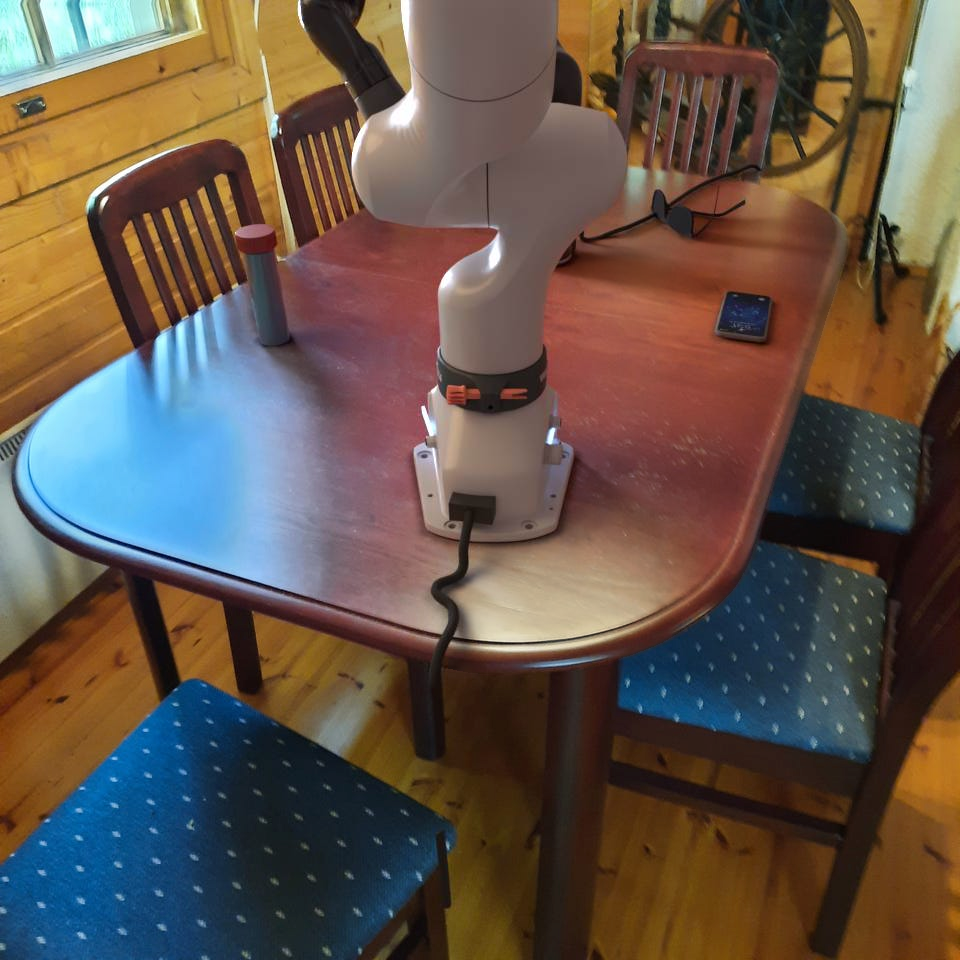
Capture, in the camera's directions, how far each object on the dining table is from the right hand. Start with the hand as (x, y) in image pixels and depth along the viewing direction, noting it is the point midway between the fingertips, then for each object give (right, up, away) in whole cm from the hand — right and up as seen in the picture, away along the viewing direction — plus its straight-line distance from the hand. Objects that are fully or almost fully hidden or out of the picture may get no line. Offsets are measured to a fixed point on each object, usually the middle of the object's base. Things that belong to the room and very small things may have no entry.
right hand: (445, 211), depth 136 cm
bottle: (-25, -22, -10) cm, 34 cm away
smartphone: (+45, -19, -8) cm, 49 cm away
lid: (-25, -9, -19) cm, 33 cm away
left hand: (+7, +17, -39) cm, 43 cm away
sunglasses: (+47, +6, +25) cm, 53 cm away
